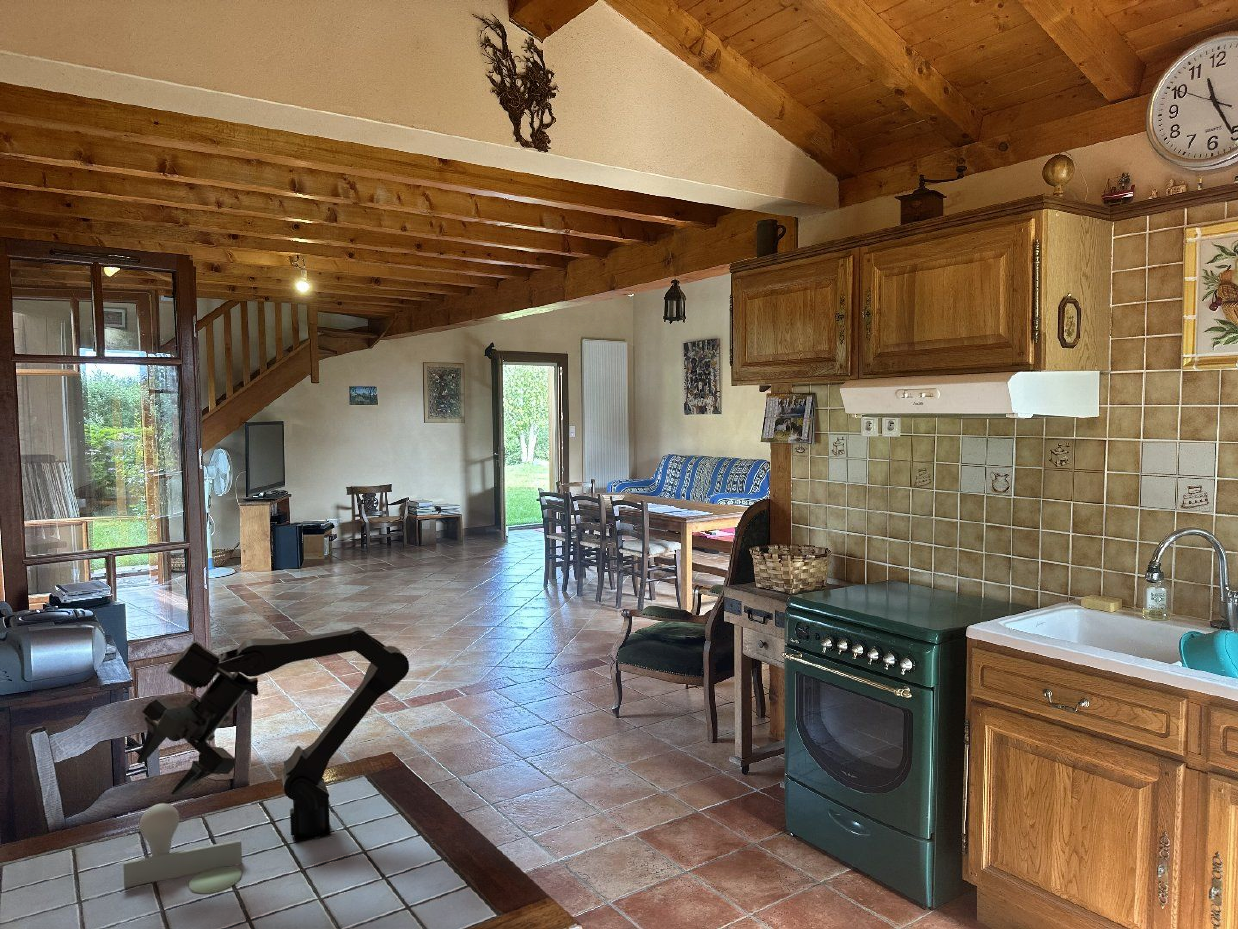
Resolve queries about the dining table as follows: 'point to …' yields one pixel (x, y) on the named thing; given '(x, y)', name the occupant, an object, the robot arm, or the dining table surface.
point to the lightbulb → (159, 827)
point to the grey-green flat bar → (182, 863)
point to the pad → (215, 880)
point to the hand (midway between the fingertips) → (155, 778)
